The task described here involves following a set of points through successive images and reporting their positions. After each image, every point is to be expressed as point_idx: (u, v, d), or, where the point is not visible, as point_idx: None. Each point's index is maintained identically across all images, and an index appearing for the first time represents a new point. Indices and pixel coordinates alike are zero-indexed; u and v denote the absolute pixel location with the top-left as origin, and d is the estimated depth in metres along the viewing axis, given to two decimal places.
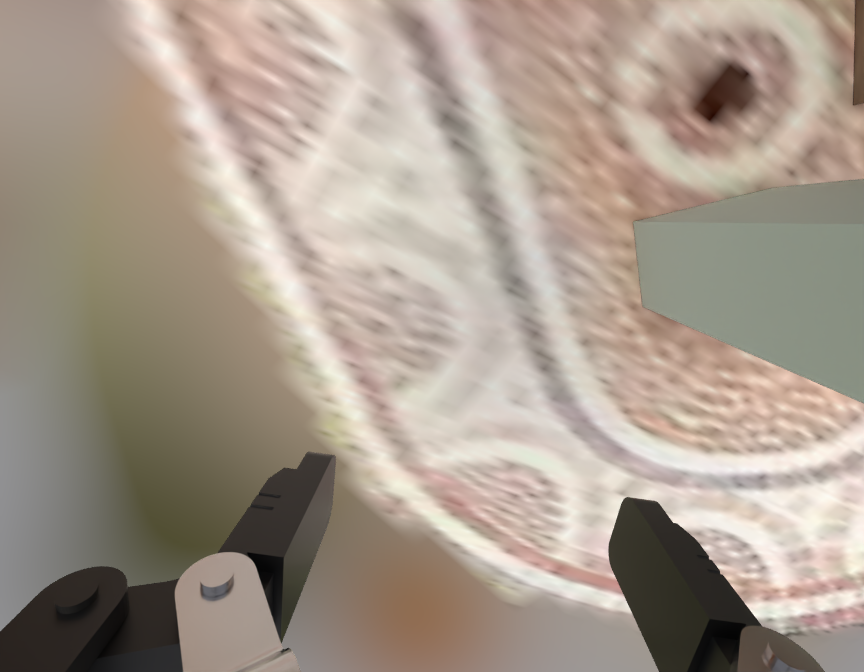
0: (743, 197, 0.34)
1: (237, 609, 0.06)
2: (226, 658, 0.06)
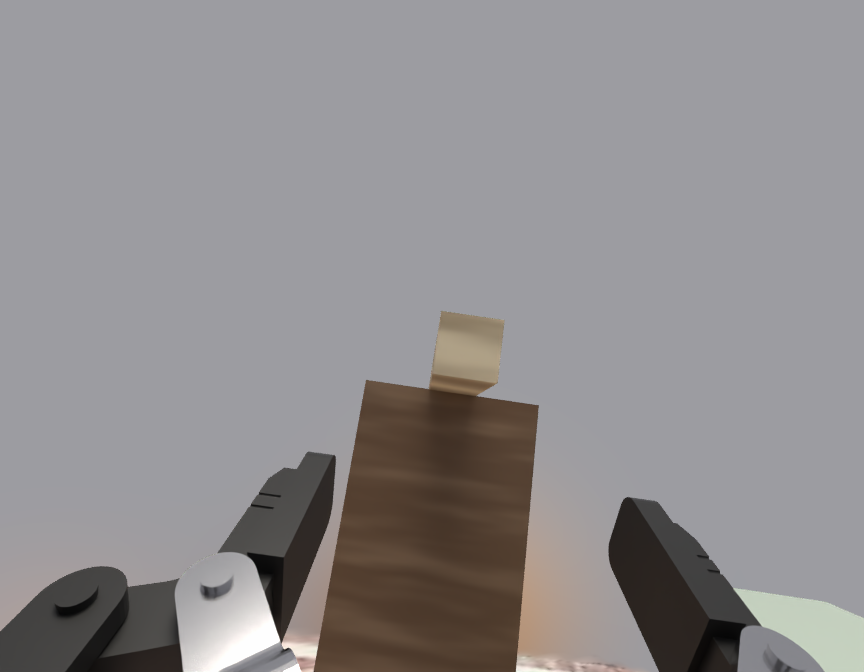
0: None
1: (237, 609, 0.06)
2: (226, 658, 0.06)
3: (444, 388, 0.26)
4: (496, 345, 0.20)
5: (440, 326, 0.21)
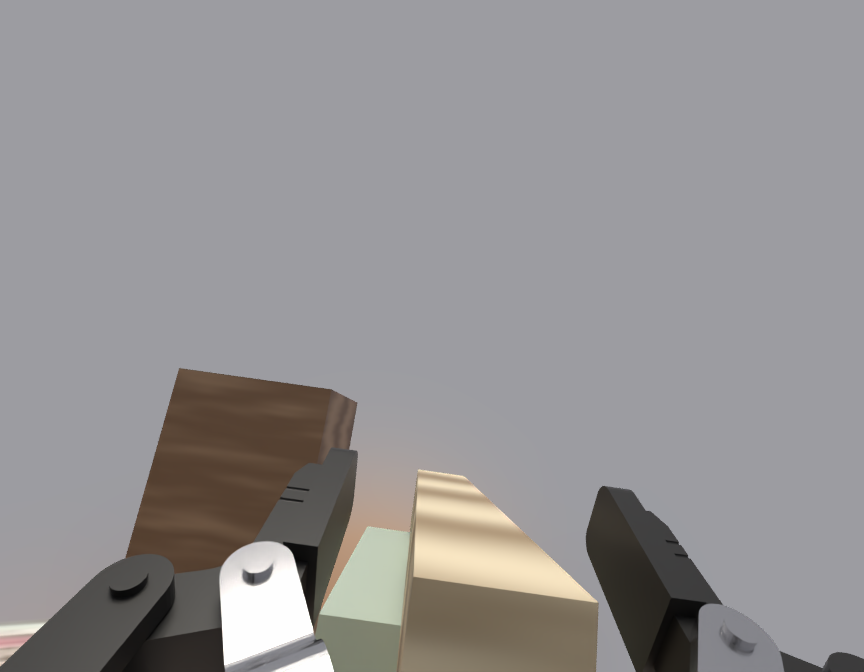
0: None
1: (280, 594, 0.07)
2: (263, 642, 0.06)
3: None
4: None
5: (410, 628, 0.07)
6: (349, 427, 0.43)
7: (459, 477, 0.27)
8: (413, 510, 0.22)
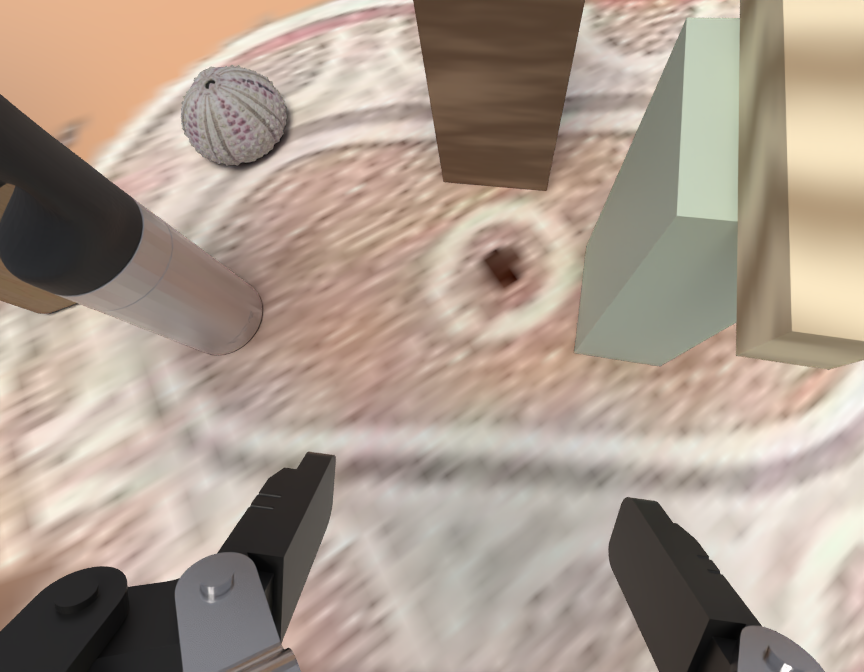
0: (586, 269, 0.41)
1: (237, 609, 0.06)
2: (226, 658, 0.06)
3: None
4: (862, 356, 0.14)
5: (777, 337, 0.14)
6: None
7: None
8: (760, 26, 0.19)
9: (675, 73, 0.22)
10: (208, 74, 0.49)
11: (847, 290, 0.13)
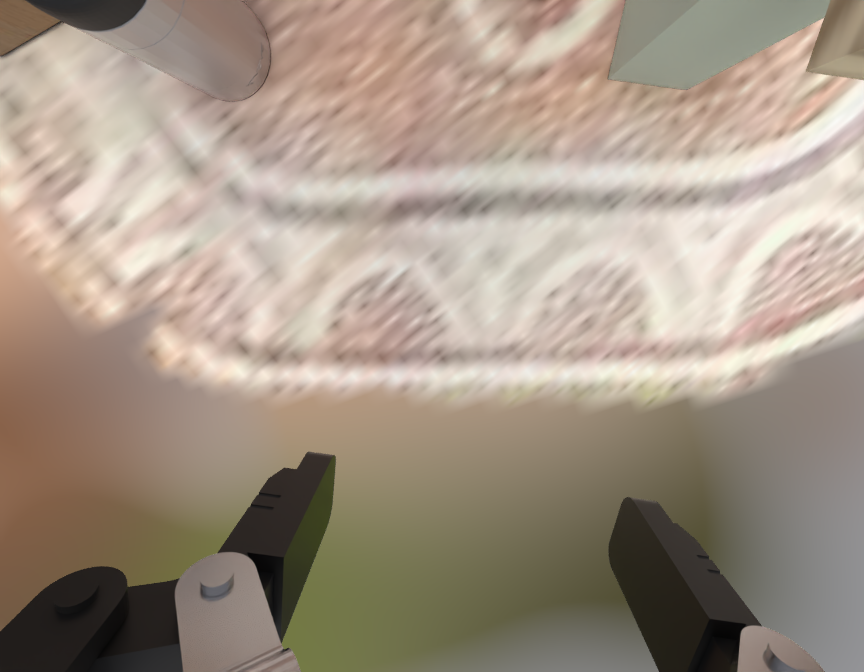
0: None
1: (237, 609, 0.06)
2: (226, 658, 0.06)
3: None
4: None
5: (853, 52, 0.18)
6: None
7: None
8: None
9: None
10: None
11: None
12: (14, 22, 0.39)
